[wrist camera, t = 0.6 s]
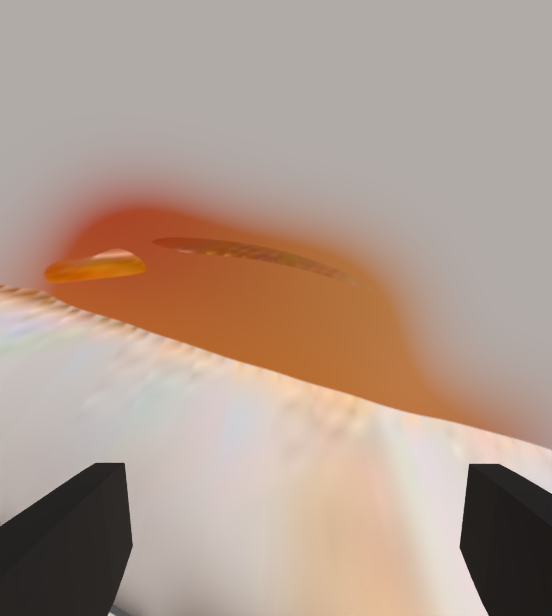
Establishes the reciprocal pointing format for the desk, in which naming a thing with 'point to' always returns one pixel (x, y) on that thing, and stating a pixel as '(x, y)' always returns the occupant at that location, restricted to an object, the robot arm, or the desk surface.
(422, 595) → the desk surface
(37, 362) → the desk surface
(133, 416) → the desk surface
